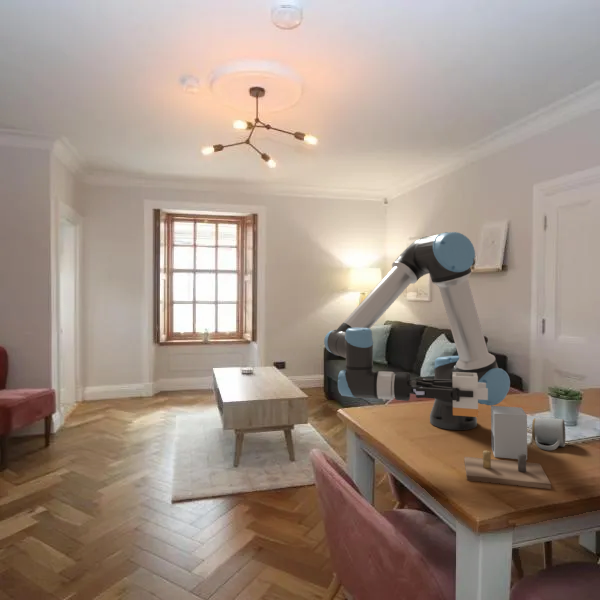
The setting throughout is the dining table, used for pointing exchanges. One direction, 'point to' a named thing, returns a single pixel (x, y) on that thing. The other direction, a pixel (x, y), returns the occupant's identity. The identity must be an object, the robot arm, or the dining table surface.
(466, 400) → the sleeve
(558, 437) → the ceramic mug
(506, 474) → the pin board
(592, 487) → the dining table surface
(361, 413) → the dining table surface
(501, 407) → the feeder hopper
